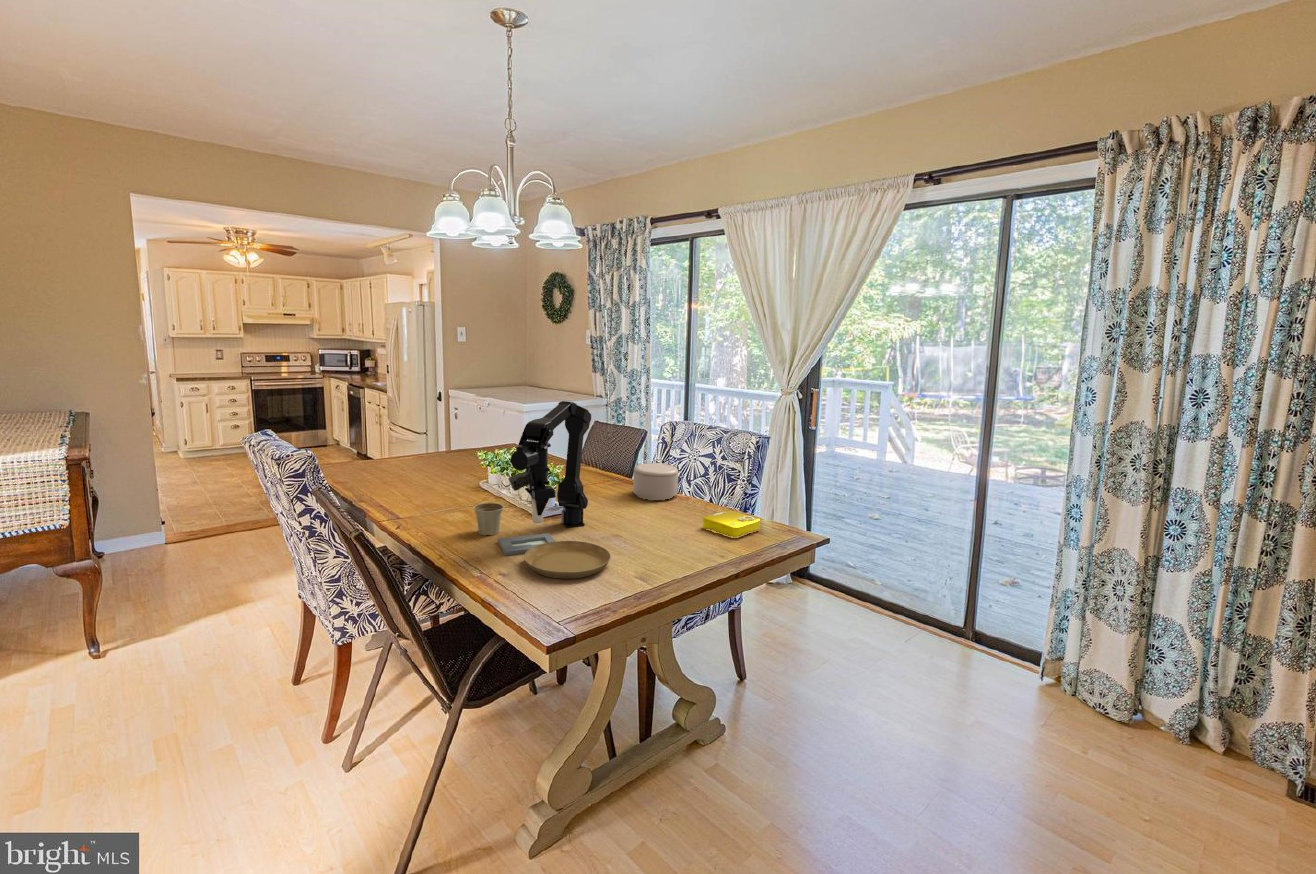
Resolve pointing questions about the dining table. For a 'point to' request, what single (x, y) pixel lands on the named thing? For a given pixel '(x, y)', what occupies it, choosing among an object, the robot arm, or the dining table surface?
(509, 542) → the keyhole plate
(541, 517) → the cream peg
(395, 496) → the dining table surface
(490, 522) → the flower pot
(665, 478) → the container
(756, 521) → the element tile
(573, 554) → the plant saucer
